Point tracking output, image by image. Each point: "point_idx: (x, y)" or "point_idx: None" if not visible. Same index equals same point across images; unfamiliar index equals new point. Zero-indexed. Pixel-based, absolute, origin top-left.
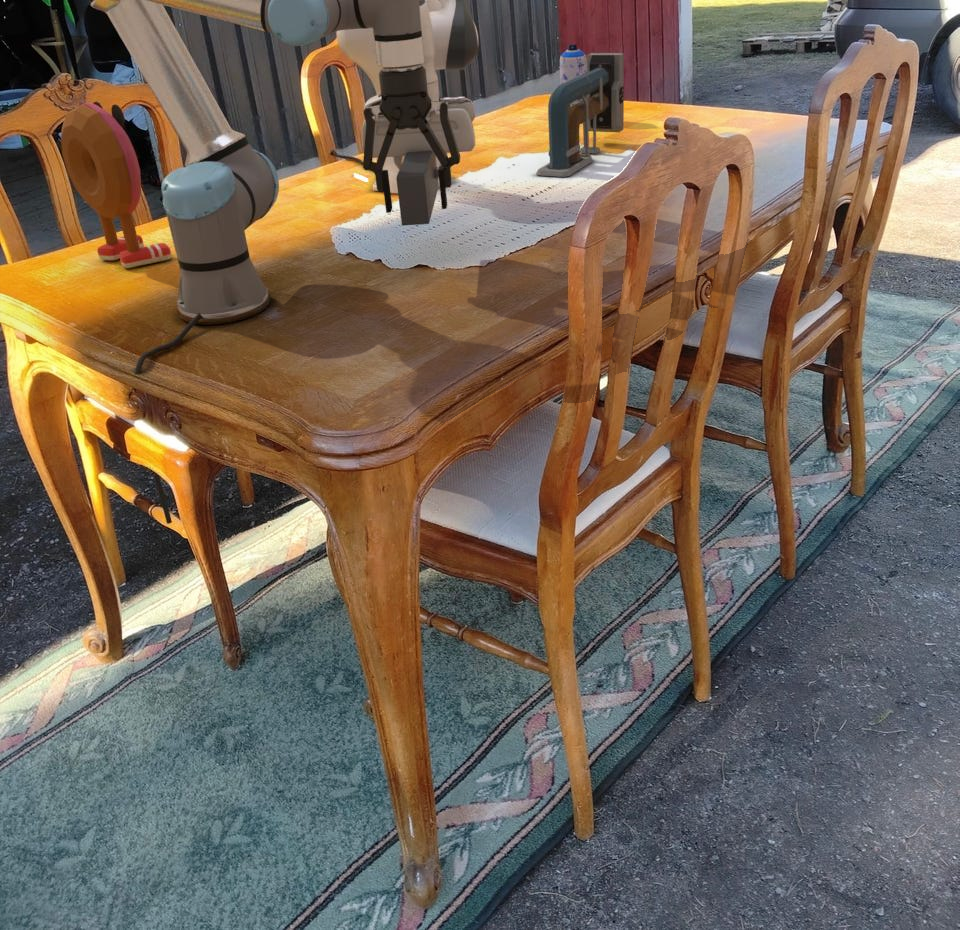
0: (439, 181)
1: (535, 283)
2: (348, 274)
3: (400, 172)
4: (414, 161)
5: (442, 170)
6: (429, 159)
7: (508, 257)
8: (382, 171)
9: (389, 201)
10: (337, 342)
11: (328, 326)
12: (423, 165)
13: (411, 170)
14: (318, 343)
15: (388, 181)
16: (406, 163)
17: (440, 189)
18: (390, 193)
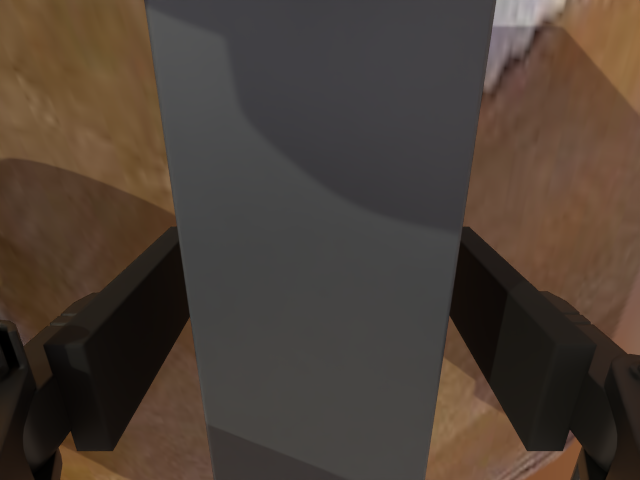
0: (491, 386)
1: (592, 247)
2: (83, 89)
3: (229, 463)
4: (307, 113)
5: (558, 445)
6: (492, 20)
7: (576, 15)
8: (61, 413)
9: (185, 320)
10: (193, 456)
11: (154, 399)
12: (413, 309)
13: (313, 434)
14: (160, 455)
15: (134, 328)
16: (223, 184)
17: (473, 352)
18: (165, 262)
